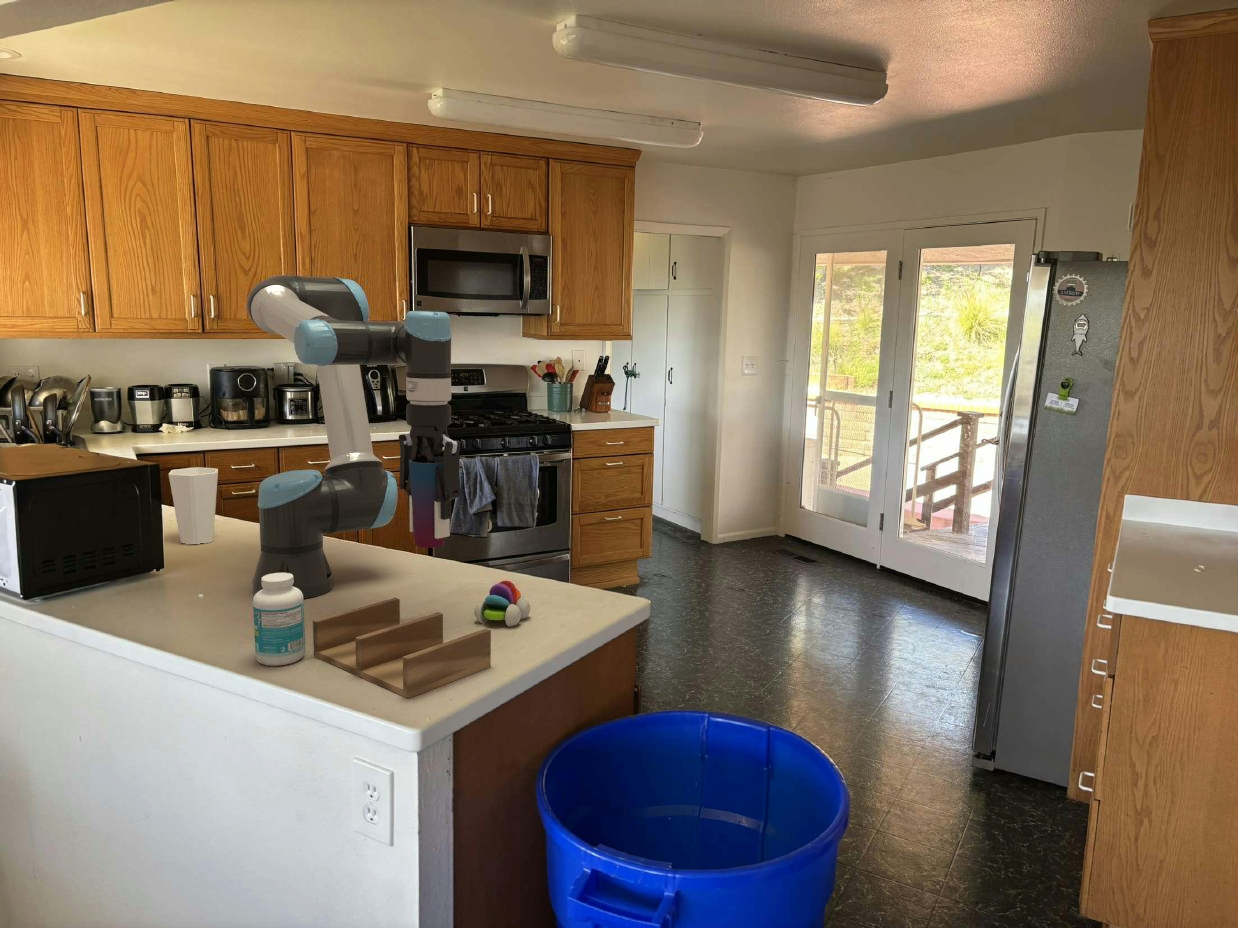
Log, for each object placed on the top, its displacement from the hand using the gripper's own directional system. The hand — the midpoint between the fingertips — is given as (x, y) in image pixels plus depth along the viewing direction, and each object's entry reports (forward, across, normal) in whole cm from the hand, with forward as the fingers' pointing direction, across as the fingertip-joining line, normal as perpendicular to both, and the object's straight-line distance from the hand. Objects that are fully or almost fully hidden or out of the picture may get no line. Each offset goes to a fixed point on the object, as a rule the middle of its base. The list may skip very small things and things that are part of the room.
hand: (429, 533), depth 152 cm
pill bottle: (+17, -5, -26) cm, 31 cm away
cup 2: (+2, 0, 0) cm, 2 cm away
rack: (+17, +10, -14) cm, 24 cm away
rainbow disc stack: (+17, +8, +10) cm, 21 cm away
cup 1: (+17, -86, +1) cm, 88 cm away
